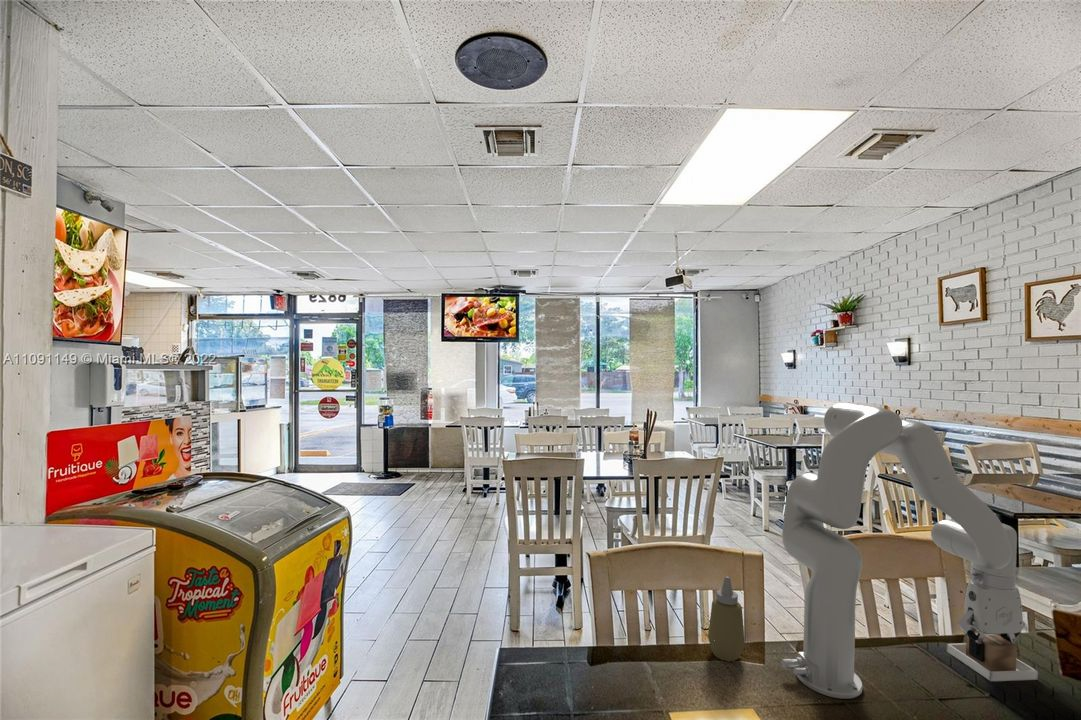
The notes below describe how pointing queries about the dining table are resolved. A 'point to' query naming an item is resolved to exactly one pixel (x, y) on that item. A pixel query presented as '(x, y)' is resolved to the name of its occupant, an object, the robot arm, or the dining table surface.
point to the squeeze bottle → (726, 624)
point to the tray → (1020, 674)
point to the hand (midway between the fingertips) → (990, 656)
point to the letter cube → (996, 653)
